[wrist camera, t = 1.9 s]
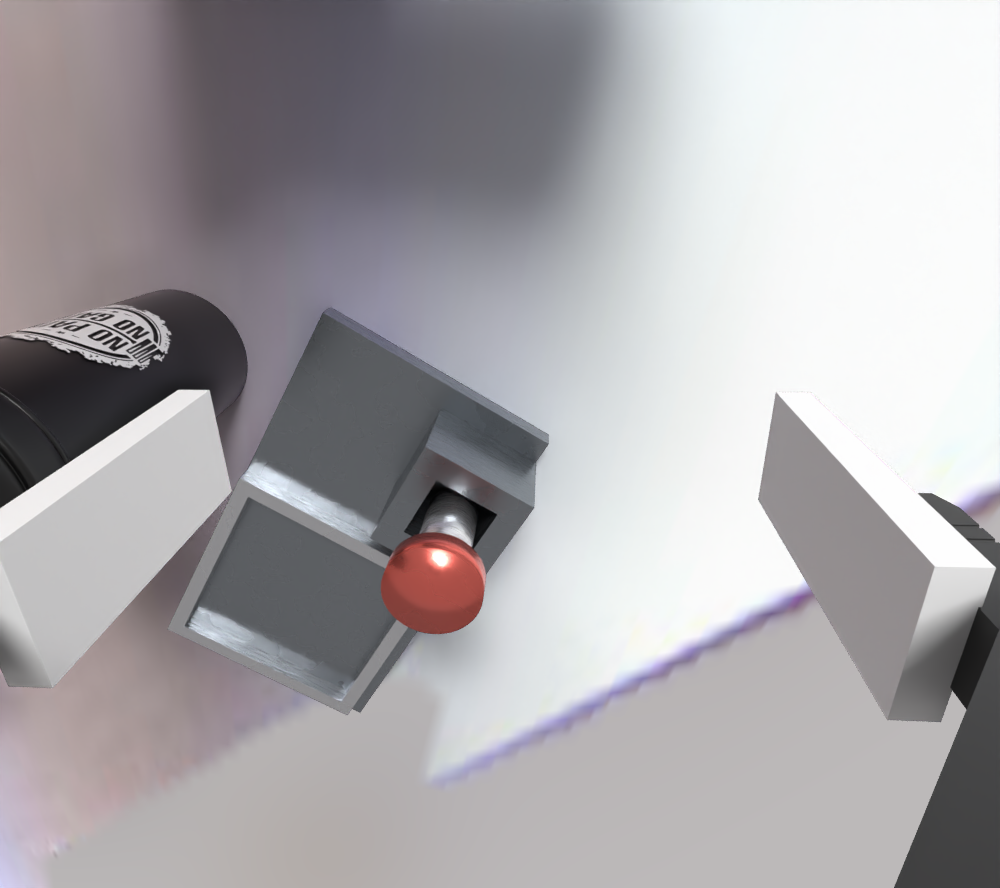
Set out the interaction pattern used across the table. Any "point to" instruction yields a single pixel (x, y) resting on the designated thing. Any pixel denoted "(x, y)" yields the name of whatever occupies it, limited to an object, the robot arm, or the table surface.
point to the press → (349, 512)
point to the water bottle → (106, 377)
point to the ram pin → (437, 569)
